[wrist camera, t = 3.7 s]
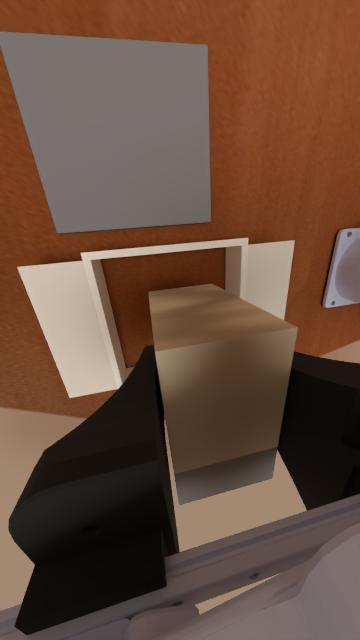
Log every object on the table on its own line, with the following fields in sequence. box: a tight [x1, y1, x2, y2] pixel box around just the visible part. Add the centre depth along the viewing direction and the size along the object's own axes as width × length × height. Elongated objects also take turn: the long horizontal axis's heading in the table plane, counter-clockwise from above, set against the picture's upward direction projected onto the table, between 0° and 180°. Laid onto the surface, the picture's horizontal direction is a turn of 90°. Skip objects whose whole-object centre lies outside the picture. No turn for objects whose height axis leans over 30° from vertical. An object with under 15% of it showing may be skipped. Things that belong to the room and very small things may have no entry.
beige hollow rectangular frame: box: [17, 238, 295, 398], centre depth 17 cm, size 20×12×3 cm, turn 94°
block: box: [148, 284, 298, 505], centre depth 9 cm, size 4×7×7 cm, turn 4°
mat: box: [0, 32, 211, 234], centre depth 13 cm, size 12×10×1 cm
